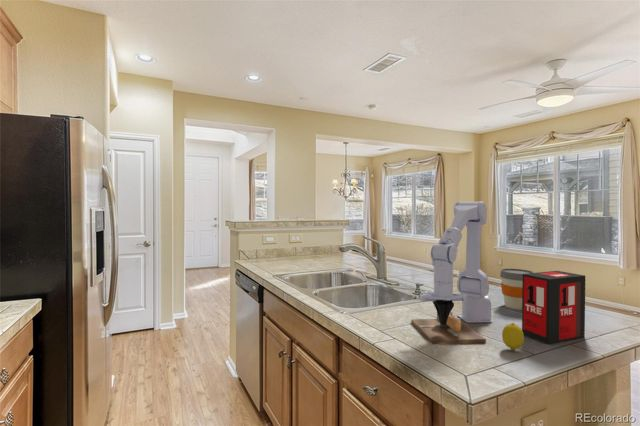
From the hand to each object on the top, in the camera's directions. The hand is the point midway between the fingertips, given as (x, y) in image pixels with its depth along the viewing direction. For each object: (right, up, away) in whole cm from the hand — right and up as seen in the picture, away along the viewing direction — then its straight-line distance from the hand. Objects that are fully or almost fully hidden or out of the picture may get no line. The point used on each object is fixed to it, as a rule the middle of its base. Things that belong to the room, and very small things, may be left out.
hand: (442, 323), depth 108 cm
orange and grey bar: (+3, -1, +3) cm, 5 cm away
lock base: (+3, -4, +5) cm, 7 cm away
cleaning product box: (+36, -5, +2) cm, 37 cm away
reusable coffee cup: (+44, -4, +34) cm, 56 cm away
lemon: (+17, -5, -9) cm, 20 cm away
